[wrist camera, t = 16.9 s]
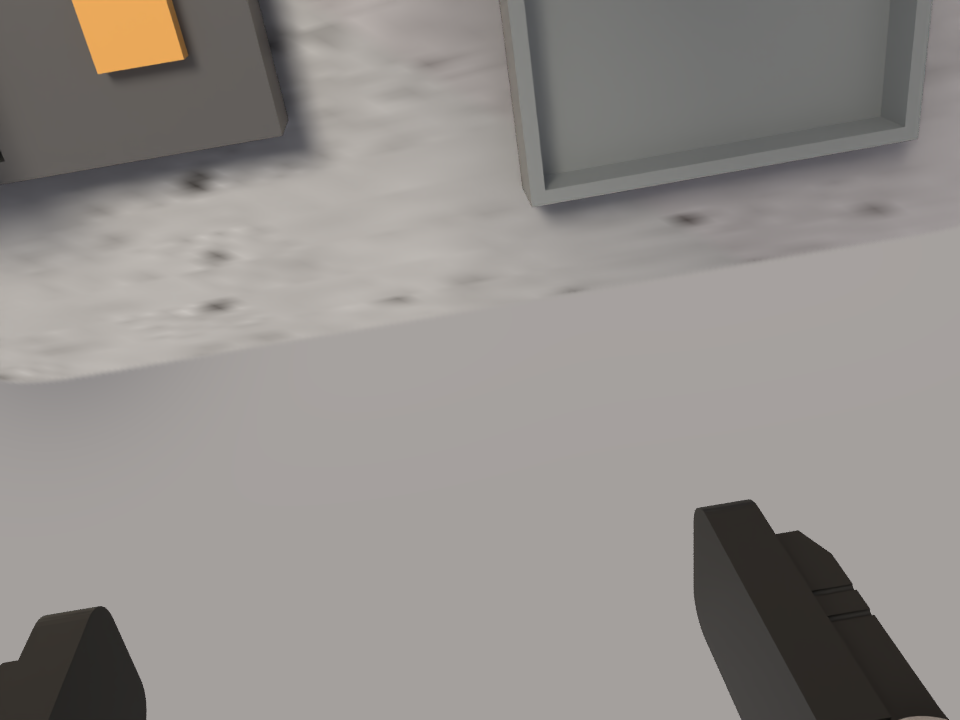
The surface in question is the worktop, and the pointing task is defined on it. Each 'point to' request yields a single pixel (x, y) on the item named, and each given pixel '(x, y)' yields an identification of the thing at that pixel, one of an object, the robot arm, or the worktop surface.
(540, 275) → the worktop surface
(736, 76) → the tray
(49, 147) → the grey slotted base
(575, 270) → the worktop surface
